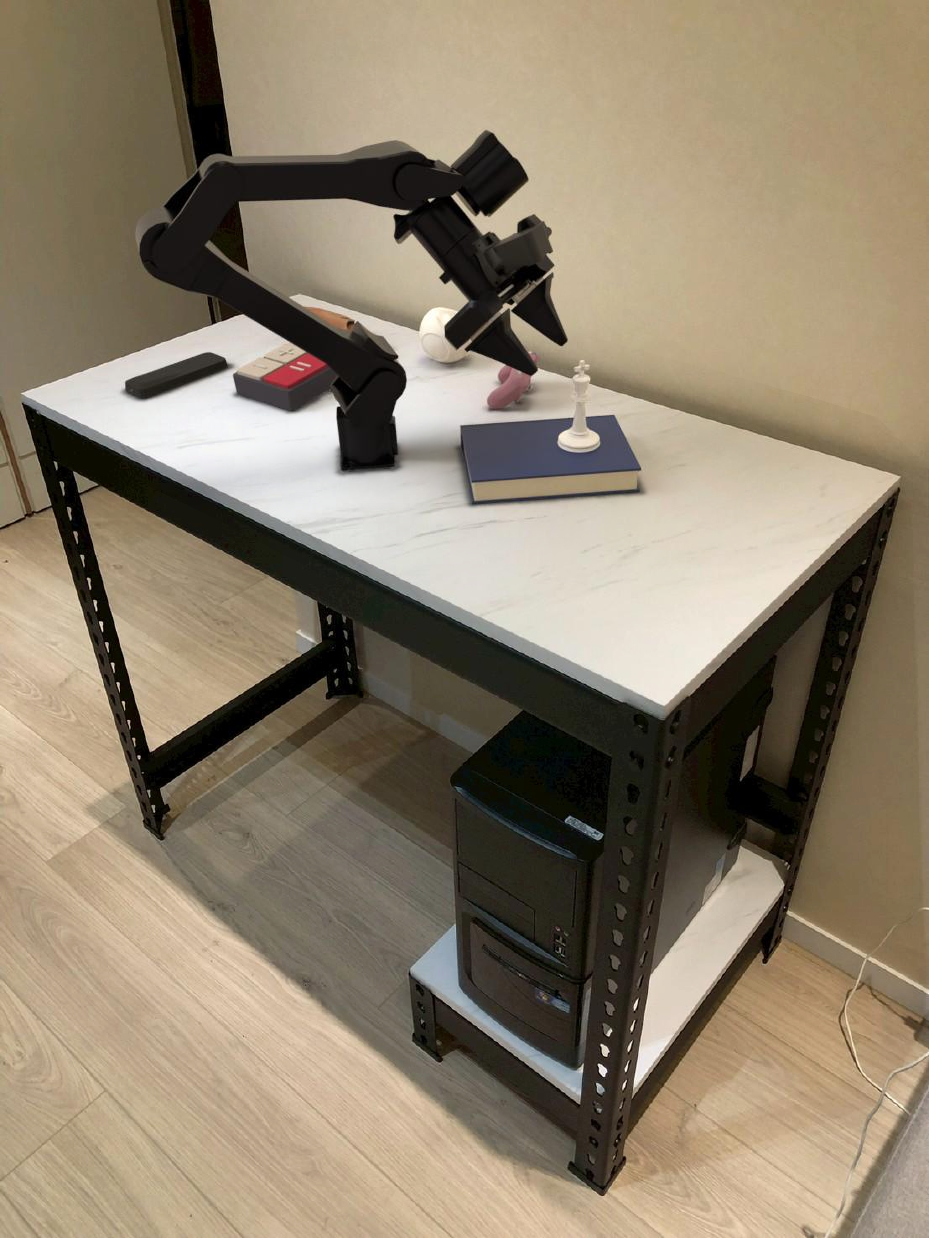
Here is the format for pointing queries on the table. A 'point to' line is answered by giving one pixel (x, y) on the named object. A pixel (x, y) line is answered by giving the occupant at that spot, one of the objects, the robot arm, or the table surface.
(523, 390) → the video game controller
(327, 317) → the sunglasses case
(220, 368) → the remote control
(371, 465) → the robot arm
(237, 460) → the table surface
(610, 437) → the blue book
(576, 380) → the chess piece
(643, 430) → the table surface
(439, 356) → the white ball
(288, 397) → the calculator
